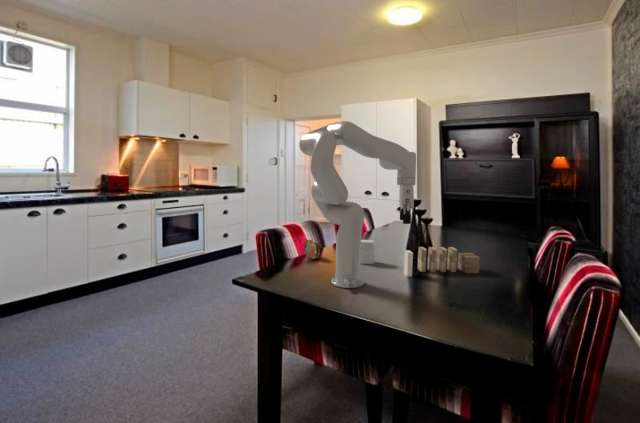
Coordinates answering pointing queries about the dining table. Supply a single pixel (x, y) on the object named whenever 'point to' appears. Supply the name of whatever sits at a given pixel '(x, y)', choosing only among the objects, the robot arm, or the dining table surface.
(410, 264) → the domino
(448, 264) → the domino
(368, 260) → the small box
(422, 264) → the domino
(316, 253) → the tin
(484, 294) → the dining table surface
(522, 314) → the dining table surface
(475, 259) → the end block
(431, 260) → the domino
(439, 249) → the domino
